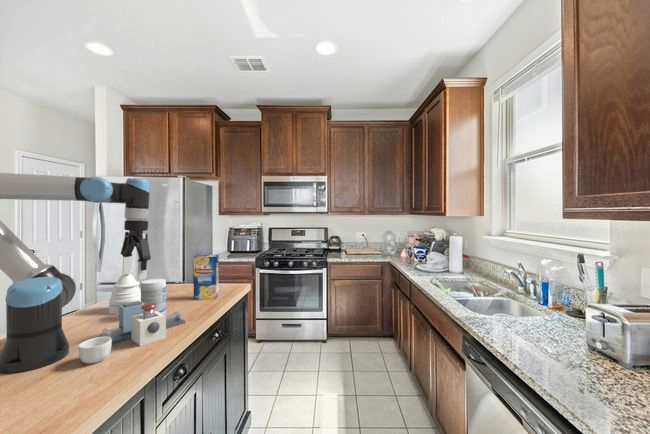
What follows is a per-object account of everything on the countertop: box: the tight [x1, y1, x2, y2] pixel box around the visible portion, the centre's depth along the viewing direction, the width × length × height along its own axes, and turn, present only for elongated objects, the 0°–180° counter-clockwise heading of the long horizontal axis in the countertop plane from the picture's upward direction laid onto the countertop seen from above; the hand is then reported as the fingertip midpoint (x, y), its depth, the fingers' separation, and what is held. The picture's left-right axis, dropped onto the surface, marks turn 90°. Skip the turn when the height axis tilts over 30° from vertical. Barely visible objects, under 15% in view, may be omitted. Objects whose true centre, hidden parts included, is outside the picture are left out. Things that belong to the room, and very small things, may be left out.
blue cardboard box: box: [193, 254, 220, 301], centre depth 151 cm, size 7×11×22 cm, turn 100°
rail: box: [100, 311, 186, 345], centre depth 109 cm, size 25×10×3 cm, turn 141°
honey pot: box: [108, 269, 141, 315], centre depth 132 cm, size 13×13×18 cm
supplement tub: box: [140, 278, 167, 315], centre depth 125 cm, size 10×10×15 cm
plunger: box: [141, 303, 156, 320], centre depth 101 cm, size 4×4×8 cm
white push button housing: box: [130, 311, 167, 347], centre depth 101 cm, size 8×8×8 cm
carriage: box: [118, 301, 145, 333], centre depth 106 cm, size 7×5×9 cm, turn 141°
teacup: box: [78, 336, 113, 365], centre depth 88 cm, size 10×8×5 cm
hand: (134, 276), depth 109 cm, fingers open, 13 cm apart
